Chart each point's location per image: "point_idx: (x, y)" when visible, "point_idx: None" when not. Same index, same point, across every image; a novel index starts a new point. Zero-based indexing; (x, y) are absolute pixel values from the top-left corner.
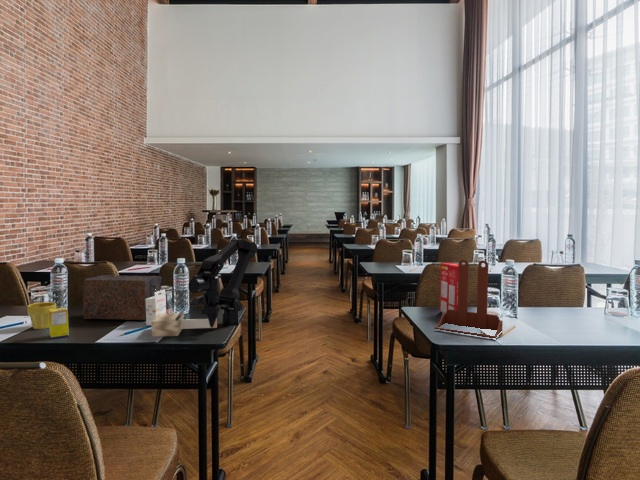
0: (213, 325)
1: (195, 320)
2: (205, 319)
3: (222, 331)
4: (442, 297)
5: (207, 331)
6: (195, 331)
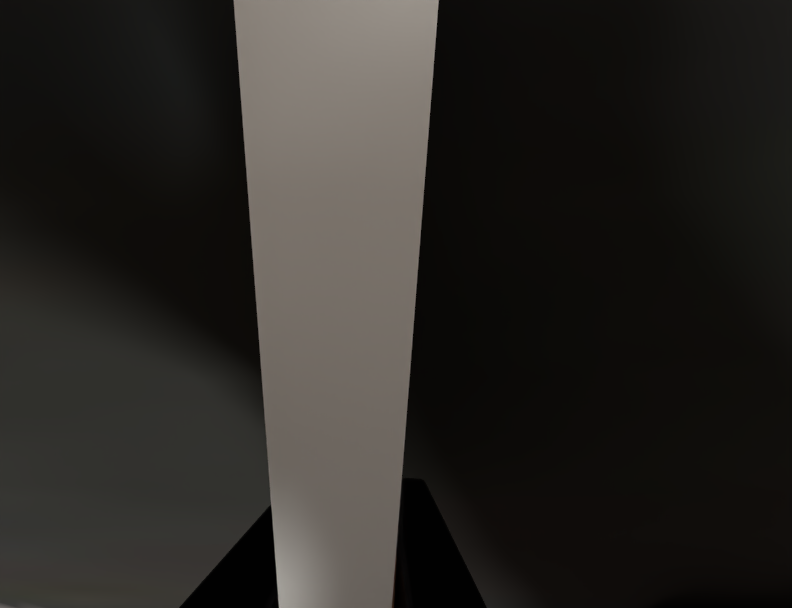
0: None
1: (257, 121)
2: (276, 550)
3: None
4: None
5: None
6: None
